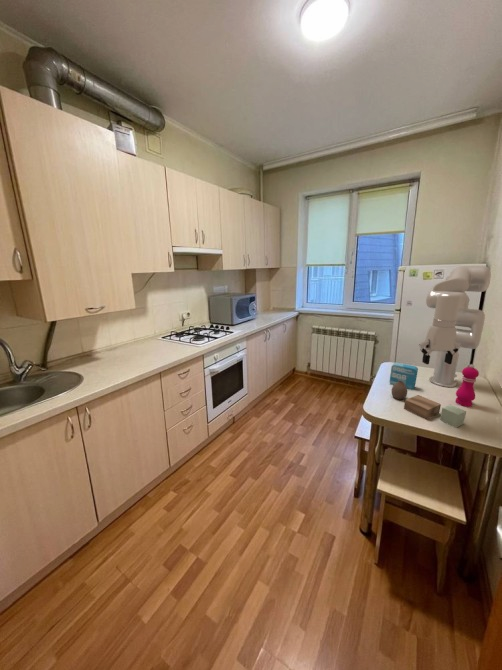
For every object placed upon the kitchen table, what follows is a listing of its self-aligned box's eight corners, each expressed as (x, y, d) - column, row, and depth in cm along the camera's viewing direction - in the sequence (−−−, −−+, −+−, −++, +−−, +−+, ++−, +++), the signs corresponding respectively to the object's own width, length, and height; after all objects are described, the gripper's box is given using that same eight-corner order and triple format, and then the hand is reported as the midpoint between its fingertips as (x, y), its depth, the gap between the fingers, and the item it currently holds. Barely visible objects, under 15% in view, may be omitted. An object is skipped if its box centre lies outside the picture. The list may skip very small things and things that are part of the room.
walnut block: (416, 404, 126) (418, 394, 125) (438, 414, 118) (441, 404, 116) (403, 409, 122) (405, 399, 120) (426, 420, 113) (427, 409, 112)
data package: (389, 384, 147) (391, 364, 144) (390, 381, 150) (393, 361, 147) (413, 390, 140) (417, 369, 137) (414, 387, 143) (418, 366, 140)
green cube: (447, 416, 115) (450, 404, 114) (463, 423, 110) (466, 411, 108) (439, 420, 113) (442, 407, 111) (455, 427, 107) (458, 414, 106)
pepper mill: (469, 401, 128) (478, 362, 123) (476, 408, 122) (485, 368, 116) (451, 398, 130) (459, 361, 125) (457, 405, 124) (466, 366, 119)
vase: (408, 401, 128) (411, 385, 126) (393, 400, 129) (395, 384, 127) (403, 395, 135) (405, 379, 132) (389, 393, 136) (391, 378, 134)
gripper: (457, 322, 111) (449, 360, 115) (417, 322, 110) (411, 360, 115) (472, 325, 104) (463, 366, 108) (429, 325, 103) (422, 366, 107)
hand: (436, 363), depth 111 cm, fingers open, 9 cm apart
